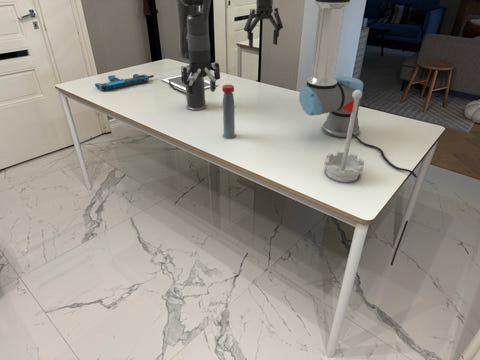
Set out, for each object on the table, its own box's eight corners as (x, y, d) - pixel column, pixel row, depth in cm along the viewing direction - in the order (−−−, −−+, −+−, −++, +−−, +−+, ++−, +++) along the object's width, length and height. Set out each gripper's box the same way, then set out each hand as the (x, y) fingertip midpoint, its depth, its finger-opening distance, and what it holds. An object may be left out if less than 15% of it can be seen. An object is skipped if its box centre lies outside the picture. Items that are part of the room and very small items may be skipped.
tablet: (161, 80, 213) (161, 79, 212) (188, 74, 224) (188, 73, 223) (189, 92, 192) (189, 92, 192) (218, 85, 203) (218, 84, 203)
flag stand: (346, 161, 127) (361, 81, 110) (369, 179, 117) (390, 94, 100) (316, 168, 123) (327, 86, 106) (337, 186, 113) (353, 99, 96)
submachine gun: (139, 68, 225) (158, 74, 208) (140, 74, 226) (158, 80, 210) (87, 78, 206) (103, 86, 189) (89, 84, 208) (104, 92, 191)
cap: (232, 93, 132) (231, 88, 131) (220, 92, 133) (220, 87, 132) (235, 89, 136) (235, 85, 135) (224, 88, 137) (224, 84, 136)
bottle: (232, 139, 143) (232, 89, 132) (222, 137, 144) (220, 88, 133) (236, 134, 147) (235, 86, 135) (225, 133, 148) (224, 85, 136)
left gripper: (213, 43, 124) (215, 87, 132) (176, 47, 118) (180, 93, 127) (222, 47, 118) (223, 92, 127) (183, 51, 112) (187, 99, 121)
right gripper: (283, -6, 163) (280, 41, 174) (236, -3, 154) (237, 46, 166) (292, -4, 157) (288, 44, 169) (243, -2, 148) (243, 49, 160)
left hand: (202, 92), depth 127 cm, fingers open, 8 cm apart
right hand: (263, 45), depth 167 cm, fingers open, 13 cm apart
